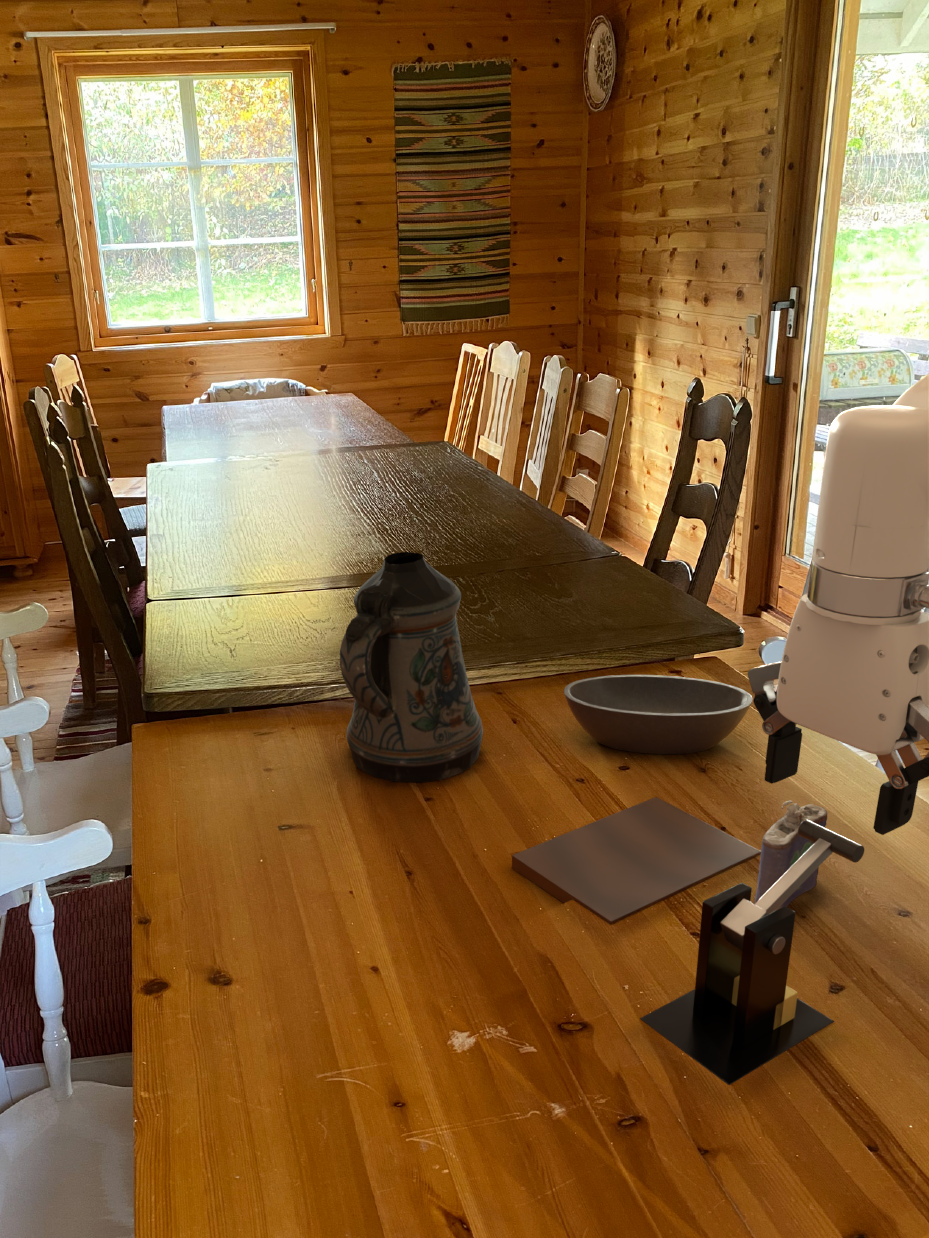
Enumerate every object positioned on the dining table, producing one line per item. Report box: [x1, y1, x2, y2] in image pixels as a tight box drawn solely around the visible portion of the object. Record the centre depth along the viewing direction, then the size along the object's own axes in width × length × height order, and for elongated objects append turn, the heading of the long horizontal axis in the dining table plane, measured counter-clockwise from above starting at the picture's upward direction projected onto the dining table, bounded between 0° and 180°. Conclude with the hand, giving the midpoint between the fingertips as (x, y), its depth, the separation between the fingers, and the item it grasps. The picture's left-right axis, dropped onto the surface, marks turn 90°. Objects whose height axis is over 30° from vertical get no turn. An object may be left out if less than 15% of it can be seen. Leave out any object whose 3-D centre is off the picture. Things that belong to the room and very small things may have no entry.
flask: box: [754, 799, 828, 910], centre depth 100 cm, size 9×3×11 cm, turn 133°
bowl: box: [563, 674, 753, 755], centre depth 134 cm, size 12×22×6 cm, turn 78°
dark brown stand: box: [639, 882, 835, 1086], centre depth 85 cm, size 12×9×12 cm
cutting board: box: [511, 796, 761, 926], centre depth 109 cm, size 20×14×2 cm
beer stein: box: [339, 551, 484, 784], centre depth 129 cm, size 16×19×25 cm
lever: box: [720, 820, 865, 950], centre depth 84 cm, size 12×5×2 cm, turn 122°
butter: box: [732, 975, 799, 1030], centre depth 87 cm, size 3×5×2 cm, turn 32°
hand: (832, 802), depth 84 cm, fingers open, 9 cm apart
